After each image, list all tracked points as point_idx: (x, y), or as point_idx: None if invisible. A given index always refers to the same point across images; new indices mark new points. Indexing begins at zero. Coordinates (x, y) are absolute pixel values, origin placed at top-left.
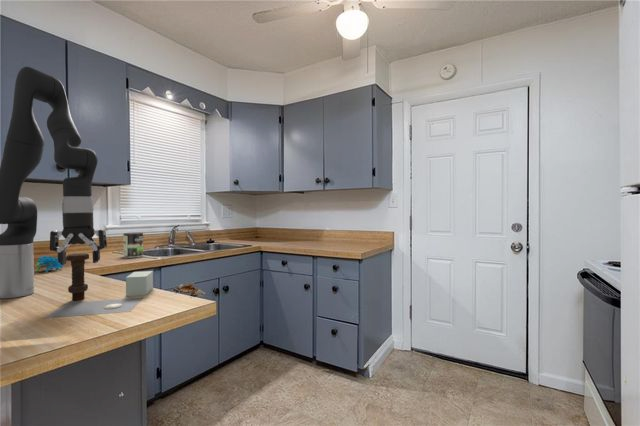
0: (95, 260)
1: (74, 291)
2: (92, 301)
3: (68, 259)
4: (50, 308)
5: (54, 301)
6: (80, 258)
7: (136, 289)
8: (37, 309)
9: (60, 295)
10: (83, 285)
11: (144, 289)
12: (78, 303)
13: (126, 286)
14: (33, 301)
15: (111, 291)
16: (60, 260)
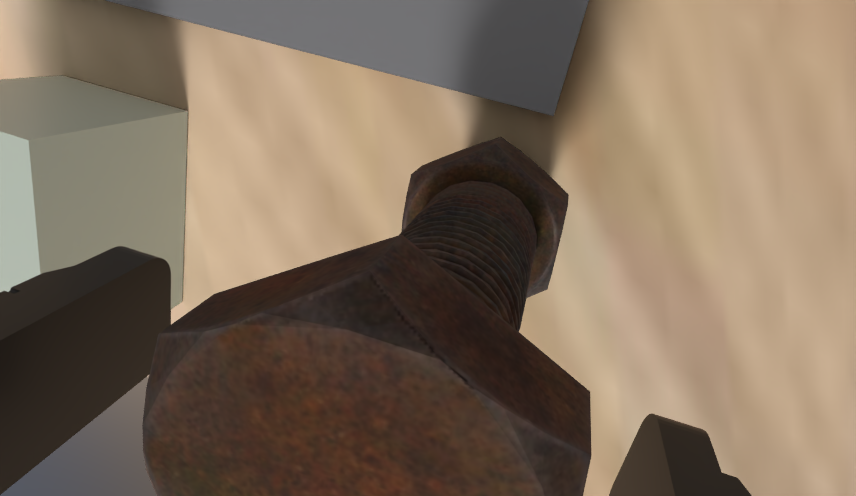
0: (97, 268)
1: (506, 141)
2: (378, 46)
3: (534, 364)
4: (698, 102)
5: (682, 331)
6: (275, 283)
7: (62, 98)
8: (803, 124)
9: None
10: (423, 191)
11: (13, 84)
12: (478, 31)
13: (104, 123)
14: (841, 425)
15: None
16: (715, 483)
